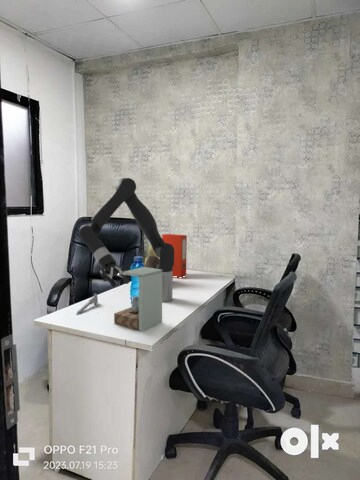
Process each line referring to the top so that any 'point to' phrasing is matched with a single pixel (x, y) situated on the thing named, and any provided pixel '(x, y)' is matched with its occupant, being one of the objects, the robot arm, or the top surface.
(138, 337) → the top surface
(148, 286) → the pale green block
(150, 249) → the decorative clock
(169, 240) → the file binder
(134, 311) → the steel peg
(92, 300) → the caliper
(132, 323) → the socket block
